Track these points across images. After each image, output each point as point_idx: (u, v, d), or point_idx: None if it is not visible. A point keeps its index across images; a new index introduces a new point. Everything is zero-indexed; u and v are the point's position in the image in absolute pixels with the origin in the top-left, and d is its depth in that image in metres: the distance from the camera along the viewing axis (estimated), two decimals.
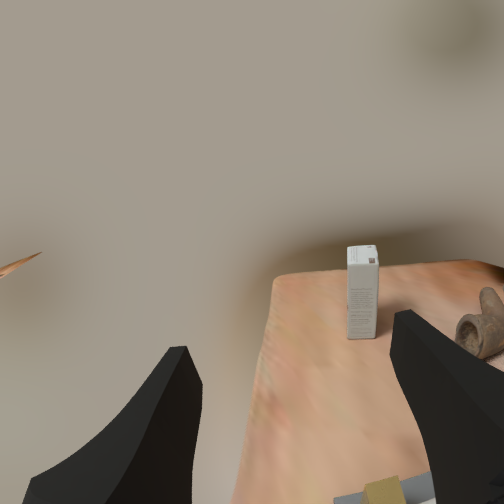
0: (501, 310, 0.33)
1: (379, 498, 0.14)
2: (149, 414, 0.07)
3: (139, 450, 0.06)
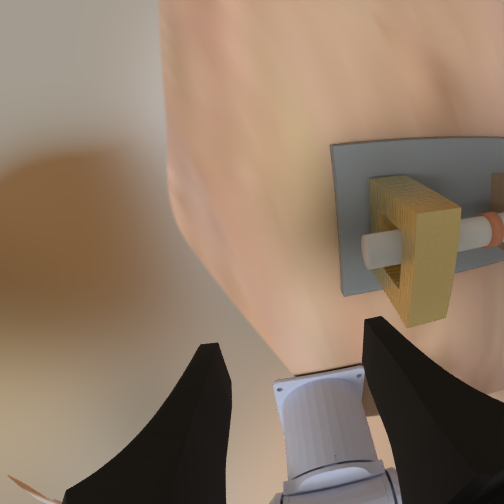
0: None
1: (429, 245, 0.12)
2: (190, 414, 0.07)
3: (184, 452, 0.06)
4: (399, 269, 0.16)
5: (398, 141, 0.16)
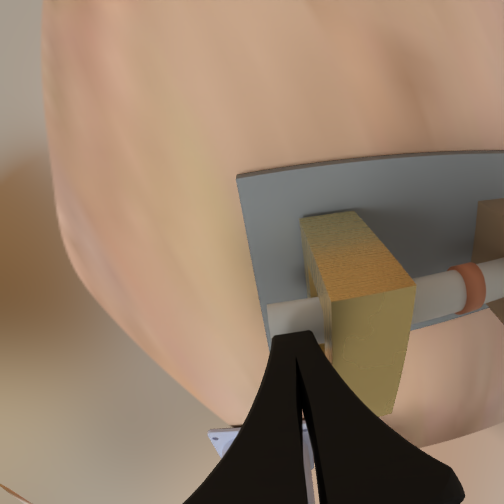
0: None
1: (357, 341, 0.08)
2: (292, 405, 0.07)
3: (300, 445, 0.05)
4: None
5: (334, 165, 0.12)
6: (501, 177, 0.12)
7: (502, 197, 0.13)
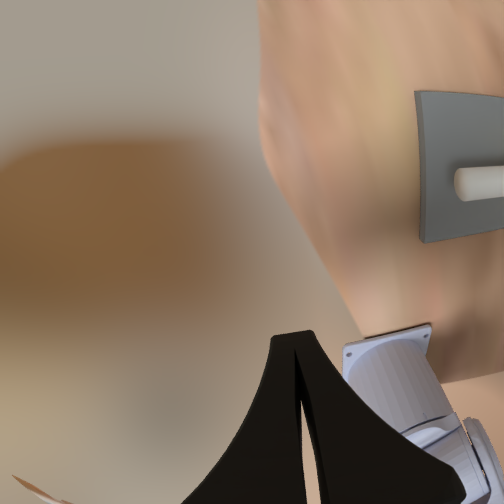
0: None
1: None
2: (290, 405, 0.07)
3: (298, 445, 0.05)
4: None
5: (469, 94, 0.14)
6: None
7: None
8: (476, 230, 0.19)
